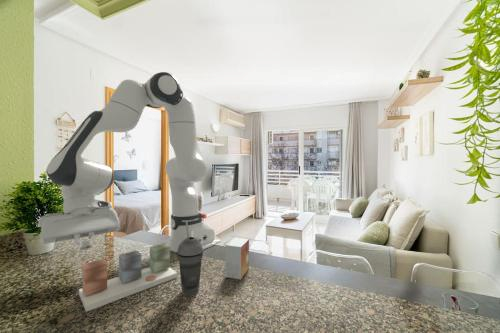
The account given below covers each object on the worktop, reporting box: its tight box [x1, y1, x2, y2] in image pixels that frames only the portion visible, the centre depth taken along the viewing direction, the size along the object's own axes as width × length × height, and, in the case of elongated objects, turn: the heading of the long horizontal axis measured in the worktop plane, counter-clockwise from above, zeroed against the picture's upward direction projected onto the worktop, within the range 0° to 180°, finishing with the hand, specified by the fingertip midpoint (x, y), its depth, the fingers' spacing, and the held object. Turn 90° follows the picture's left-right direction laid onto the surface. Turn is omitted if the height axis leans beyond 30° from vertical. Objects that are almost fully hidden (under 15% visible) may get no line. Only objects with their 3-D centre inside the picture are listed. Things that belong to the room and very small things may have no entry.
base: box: [78, 266, 178, 313], centre depth 69 cm, size 24×10×2 cm, turn 134°
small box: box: [224, 237, 250, 280], centre depth 77 cm, size 8×6×10 cm
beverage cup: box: [176, 222, 204, 297], centre depth 65 cm, size 7×7×20 cm
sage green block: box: [149, 243, 171, 272], centre depth 76 cm, size 5×4×7 cm
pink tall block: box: [81, 258, 108, 296], centre depth 63 cm, size 5×4×7 cm
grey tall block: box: [118, 250, 142, 283], centre depth 69 cm, size 5×4×7 cm
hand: (85, 248), depth 70 cm, fingers closed
